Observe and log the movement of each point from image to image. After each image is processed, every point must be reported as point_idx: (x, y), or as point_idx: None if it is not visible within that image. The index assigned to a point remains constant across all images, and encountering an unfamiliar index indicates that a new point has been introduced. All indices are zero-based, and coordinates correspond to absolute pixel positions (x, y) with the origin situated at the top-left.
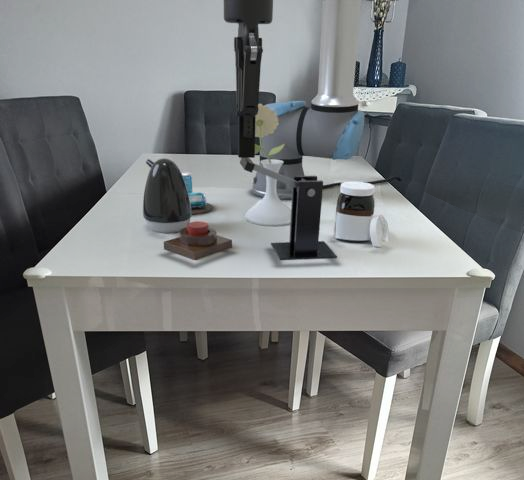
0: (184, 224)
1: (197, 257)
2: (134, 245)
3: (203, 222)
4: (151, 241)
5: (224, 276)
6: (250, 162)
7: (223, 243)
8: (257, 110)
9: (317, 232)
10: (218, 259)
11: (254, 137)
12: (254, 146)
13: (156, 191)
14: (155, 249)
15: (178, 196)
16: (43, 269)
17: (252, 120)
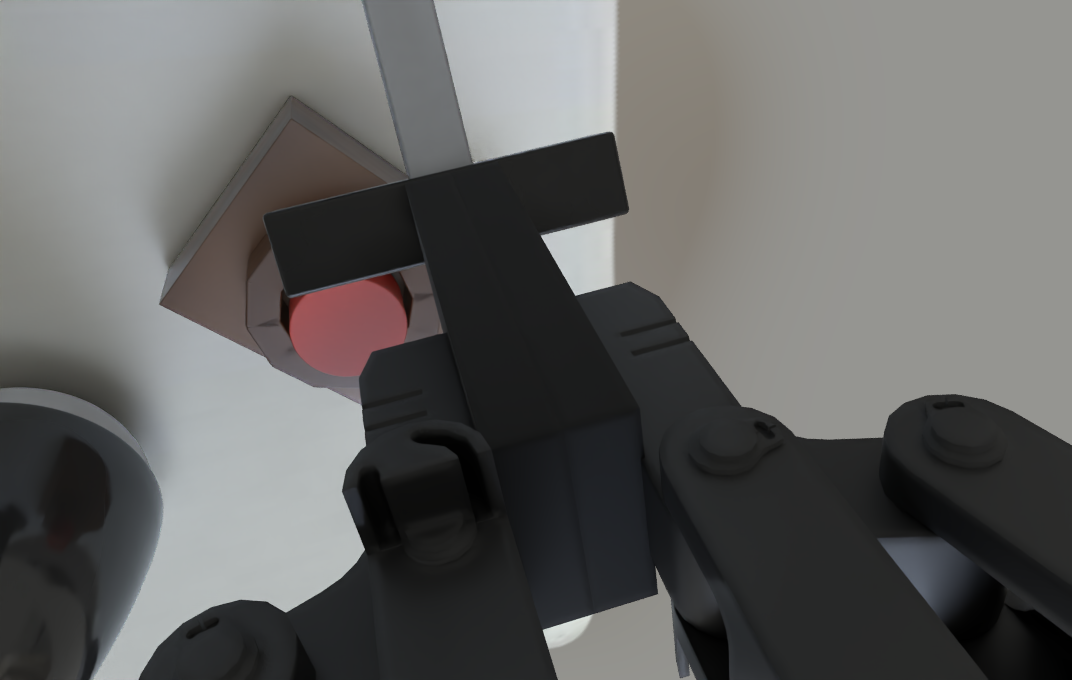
0: (70, 404)
1: None
2: (280, 510)
3: (306, 309)
4: (208, 473)
5: (608, 99)
6: (593, 182)
7: (353, 158)
8: (1016, 418)
9: None
10: (397, 153)
11: (548, 260)
12: (523, 212)
13: (112, 638)
14: (312, 430)
15: (64, 530)
16: (551, 633)
17: (734, 402)
